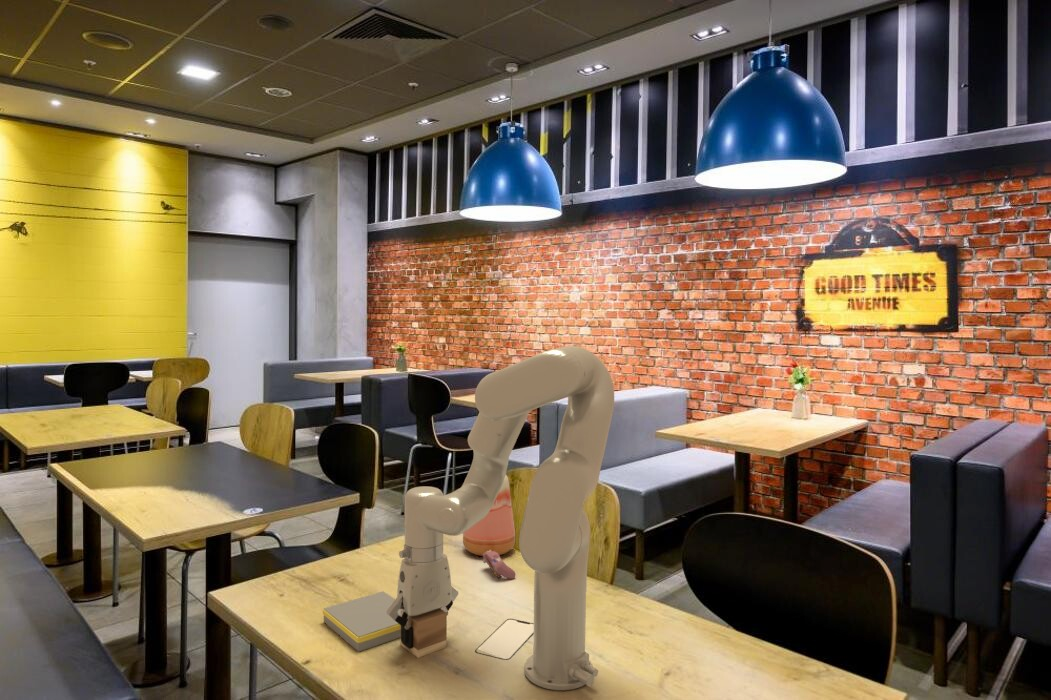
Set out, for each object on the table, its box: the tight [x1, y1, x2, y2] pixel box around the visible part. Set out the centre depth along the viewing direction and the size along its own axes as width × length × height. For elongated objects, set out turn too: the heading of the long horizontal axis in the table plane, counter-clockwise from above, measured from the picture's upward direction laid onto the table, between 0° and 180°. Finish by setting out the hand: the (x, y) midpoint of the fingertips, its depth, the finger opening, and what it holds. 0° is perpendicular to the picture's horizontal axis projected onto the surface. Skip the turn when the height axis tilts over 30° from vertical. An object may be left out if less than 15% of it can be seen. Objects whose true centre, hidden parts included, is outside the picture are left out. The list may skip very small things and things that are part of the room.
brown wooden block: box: [400, 609, 448, 659], centre depth 134 cm, size 6×6×7 cm
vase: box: [462, 474, 516, 557], centre depth 186 cm, size 14×14×30 cm
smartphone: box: [474, 618, 534, 661], centre depth 138 cm, size 8×1×16 cm
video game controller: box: [482, 550, 516, 580], centre depth 171 cm, size 10×5×7 cm, turn 25°
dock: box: [322, 590, 403, 652], centre depth 142 cm, size 16×14×3 cm
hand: (423, 639), depth 134 cm, fingers closed on brown wooden block, 6 cm apart
